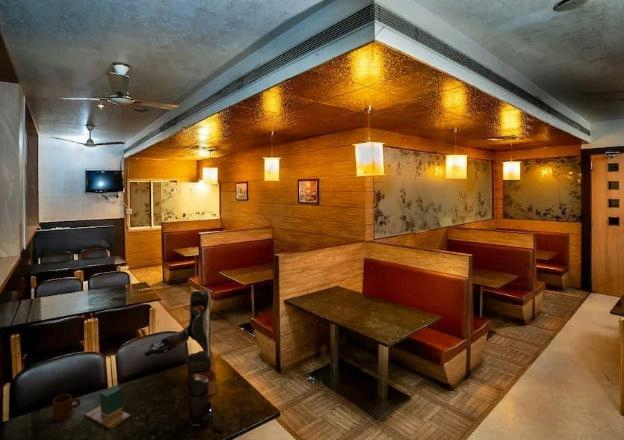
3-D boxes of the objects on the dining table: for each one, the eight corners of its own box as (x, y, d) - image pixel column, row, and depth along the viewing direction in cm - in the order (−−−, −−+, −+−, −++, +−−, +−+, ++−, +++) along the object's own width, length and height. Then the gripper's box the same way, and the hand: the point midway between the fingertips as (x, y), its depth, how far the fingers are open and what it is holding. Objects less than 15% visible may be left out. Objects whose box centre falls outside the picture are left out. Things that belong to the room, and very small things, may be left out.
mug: (85, 410, 174) (84, 392, 173) (77, 420, 166) (75, 402, 165) (59, 412, 172) (58, 394, 171) (49, 422, 165) (48, 403, 164)
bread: (193, 374, 208) (192, 350, 206) (214, 370, 212) (214, 347, 210) (192, 398, 184) (191, 371, 183) (217, 394, 188) (216, 368, 187)
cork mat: (130, 416, 169) (130, 414, 169) (110, 429, 160) (110, 427, 160) (105, 404, 178) (105, 402, 178) (85, 415, 170) (85, 414, 169)
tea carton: (122, 388, 172) (107, 396, 165) (123, 409, 173) (108, 418, 167) (114, 385, 175) (99, 393, 168) (115, 405, 176) (100, 414, 169)
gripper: (163, 333, 204) (137, 345, 189) (180, 337, 198) (153, 350, 183) (164, 345, 205) (137, 358, 189) (180, 350, 199) (154, 364, 183)
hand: (145, 354), depth 186 cm, fingers closed
